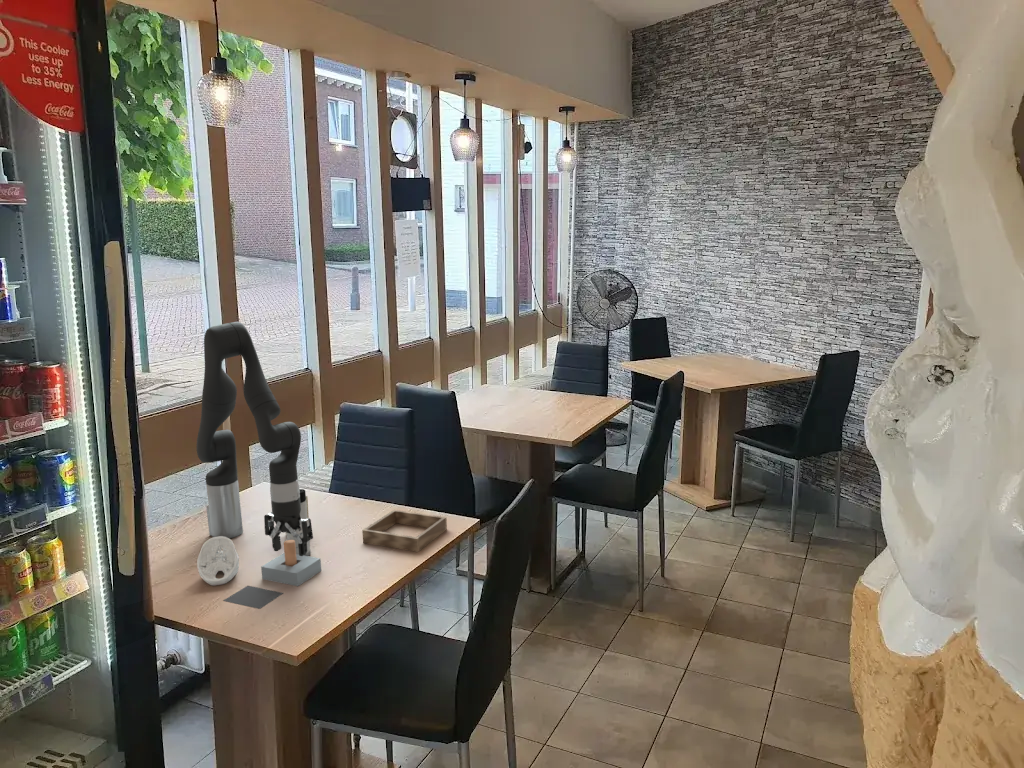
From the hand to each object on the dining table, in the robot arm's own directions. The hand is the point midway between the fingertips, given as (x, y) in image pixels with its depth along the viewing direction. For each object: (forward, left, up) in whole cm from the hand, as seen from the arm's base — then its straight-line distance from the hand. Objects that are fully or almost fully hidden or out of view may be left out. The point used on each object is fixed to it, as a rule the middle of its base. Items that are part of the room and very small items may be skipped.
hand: (290, 552), depth 209 cm
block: (0, 0, -7) cm, 7 cm away
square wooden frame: (+15, +35, -7) cm, 39 cm away
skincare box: (-18, +25, -7) cm, 31 cm away
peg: (0, 0, -7) cm, 7 cm away
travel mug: (-7, +12, -7) cm, 15 cm away
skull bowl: (-18, -8, -7) cm, 21 cm away
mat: (-1, -14, -7) cm, 16 cm away
